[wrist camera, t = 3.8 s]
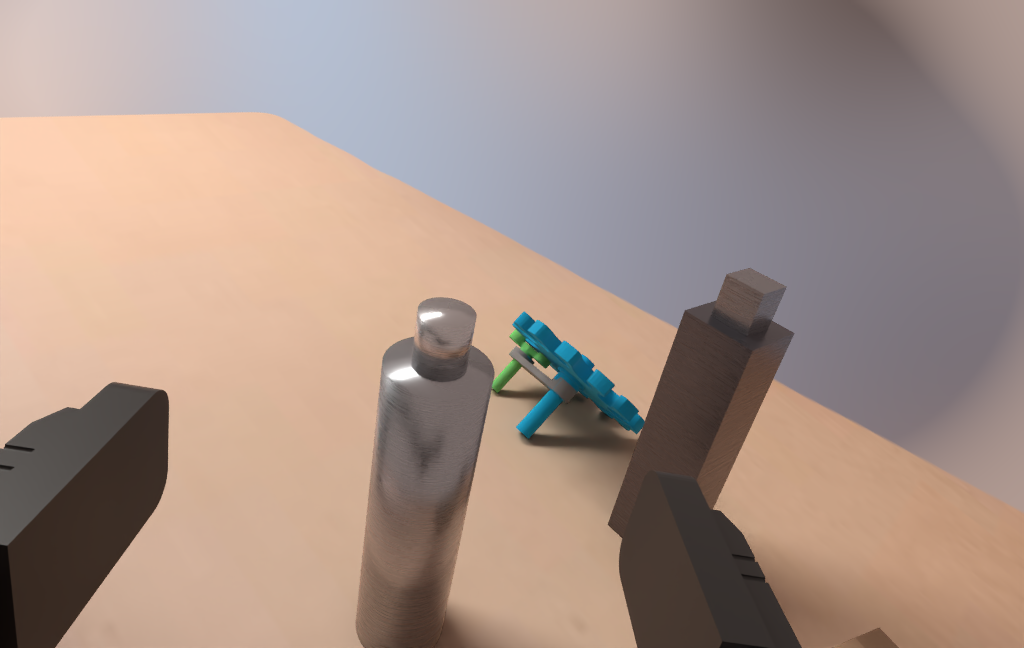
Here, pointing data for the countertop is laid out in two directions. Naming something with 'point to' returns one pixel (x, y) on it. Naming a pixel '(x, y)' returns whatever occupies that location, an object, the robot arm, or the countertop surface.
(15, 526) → the robot arm
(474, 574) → the countertop surface
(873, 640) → the bore block
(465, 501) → the round rod
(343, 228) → the countertop surface
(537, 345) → the gear
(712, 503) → the square bar
